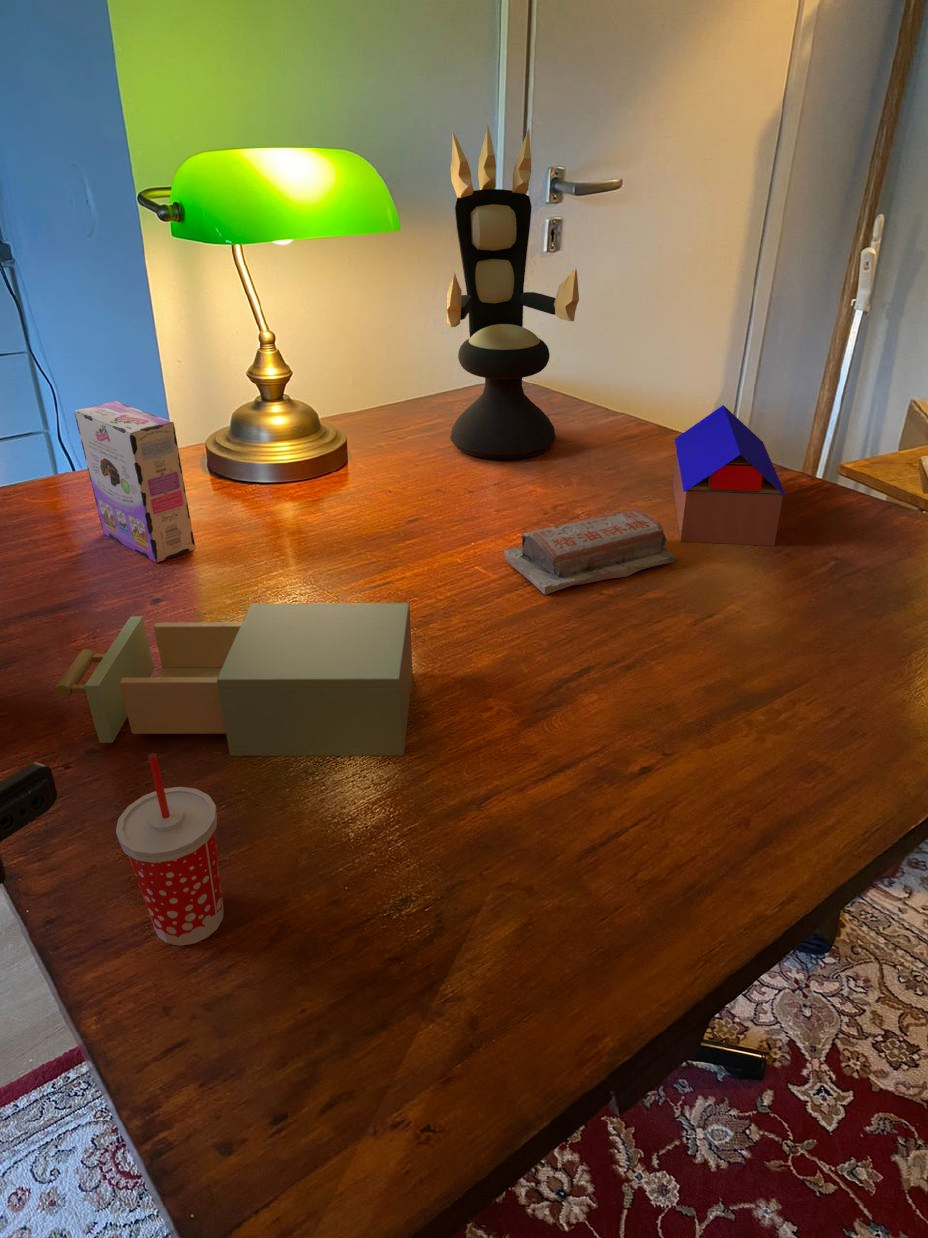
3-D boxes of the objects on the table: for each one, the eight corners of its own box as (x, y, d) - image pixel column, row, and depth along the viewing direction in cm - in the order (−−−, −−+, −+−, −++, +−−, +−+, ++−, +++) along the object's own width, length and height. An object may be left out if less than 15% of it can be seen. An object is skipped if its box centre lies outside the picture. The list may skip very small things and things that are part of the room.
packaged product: (631, 498, 113) (680, 527, 105) (628, 534, 115) (676, 565, 108) (502, 524, 106) (545, 558, 98) (502, 562, 109) (543, 597, 101)
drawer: (50, 743, 77) (32, 685, 74) (98, 669, 87) (85, 615, 84) (258, 742, 77) (249, 685, 74) (283, 668, 87) (276, 615, 84)
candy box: (198, 550, 113) (176, 420, 105) (155, 565, 109) (129, 432, 101) (141, 519, 121) (116, 397, 113) (100, 533, 117) (71, 408, 109)
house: (755, 487, 129) (768, 406, 123) (777, 547, 112) (793, 456, 106) (669, 483, 130) (678, 403, 124) (678, 542, 113) (688, 452, 107)
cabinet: (229, 756, 77) (216, 679, 73) (260, 673, 88) (250, 603, 84) (403, 755, 77) (399, 678, 73) (412, 672, 88) (409, 602, 84)
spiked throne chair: (453, 469, 136) (447, 128, 114) (428, 424, 155) (418, 125, 133) (573, 459, 139) (590, 126, 117) (534, 416, 158) (543, 122, 136)
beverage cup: (181, 875, 65) (145, 716, 58) (253, 899, 63) (224, 738, 56) (123, 938, 60) (75, 773, 53) (198, 967, 58) (160, 799, 51)
